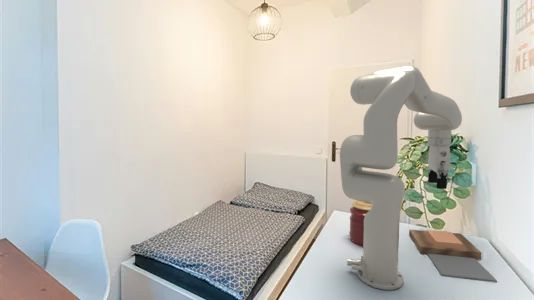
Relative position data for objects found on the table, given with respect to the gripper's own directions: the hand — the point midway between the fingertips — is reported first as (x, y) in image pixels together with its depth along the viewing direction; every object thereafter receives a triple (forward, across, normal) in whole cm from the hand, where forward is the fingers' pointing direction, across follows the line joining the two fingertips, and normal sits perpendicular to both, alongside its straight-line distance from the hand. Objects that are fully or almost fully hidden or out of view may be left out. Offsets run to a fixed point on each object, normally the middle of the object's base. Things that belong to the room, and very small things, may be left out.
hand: (436, 185), depth 103 cm
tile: (+18, -11, 0) cm, 21 cm away
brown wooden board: (+21, -10, 0) cm, 23 cm away
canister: (+21, -10, +26) cm, 35 cm away
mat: (+21, -24, 0) cm, 31 cm away
